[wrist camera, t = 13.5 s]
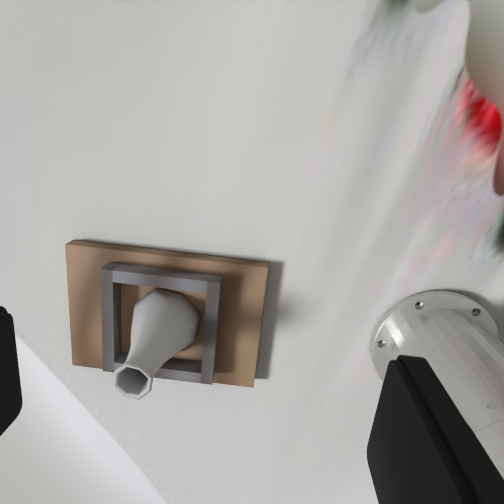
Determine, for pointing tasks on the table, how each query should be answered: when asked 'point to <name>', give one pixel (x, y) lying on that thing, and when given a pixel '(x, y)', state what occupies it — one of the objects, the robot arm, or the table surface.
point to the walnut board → (172, 280)
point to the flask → (155, 339)
